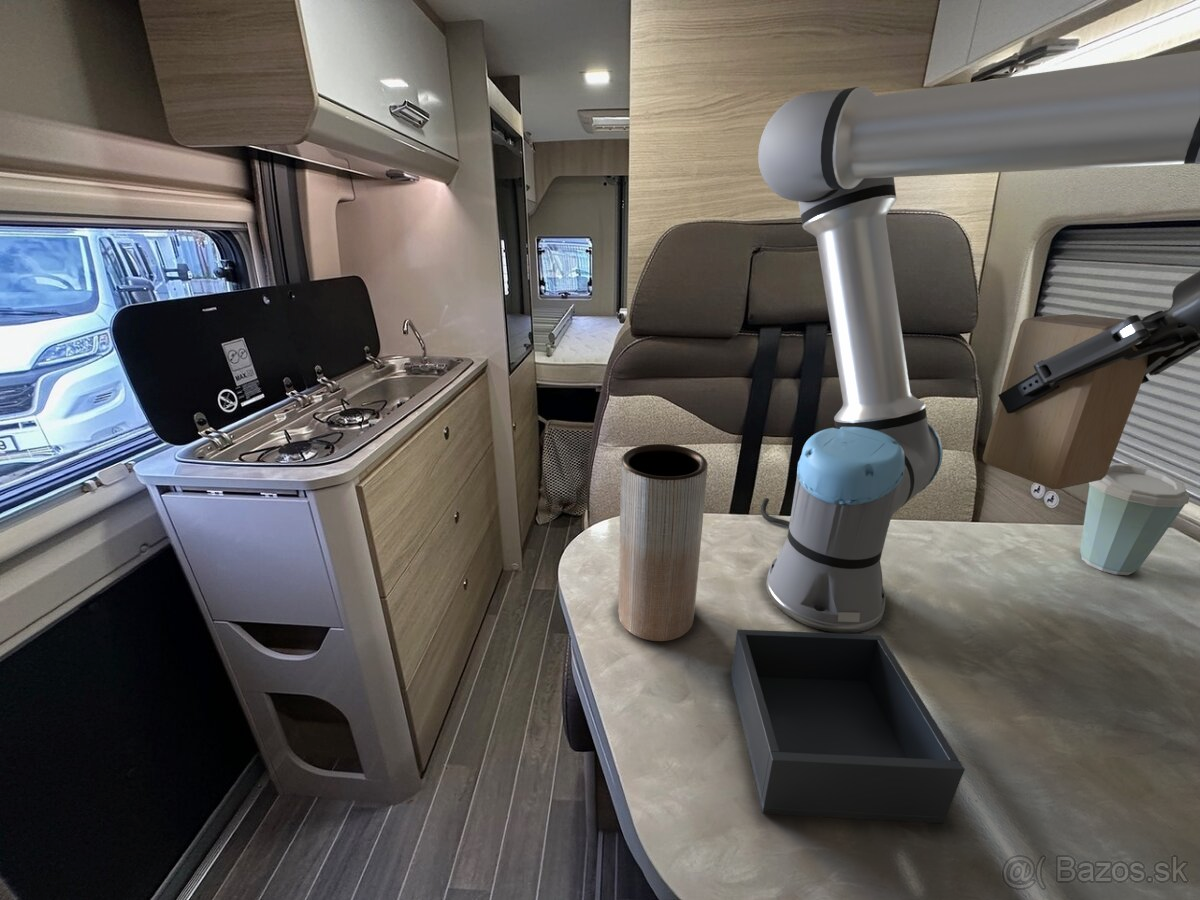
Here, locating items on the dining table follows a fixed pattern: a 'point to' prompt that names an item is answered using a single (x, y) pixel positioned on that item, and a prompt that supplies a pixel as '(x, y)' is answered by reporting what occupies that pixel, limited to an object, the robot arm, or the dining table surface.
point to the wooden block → (1063, 408)
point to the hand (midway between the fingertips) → (1039, 400)
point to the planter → (660, 539)
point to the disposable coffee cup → (1128, 516)
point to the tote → (839, 729)
